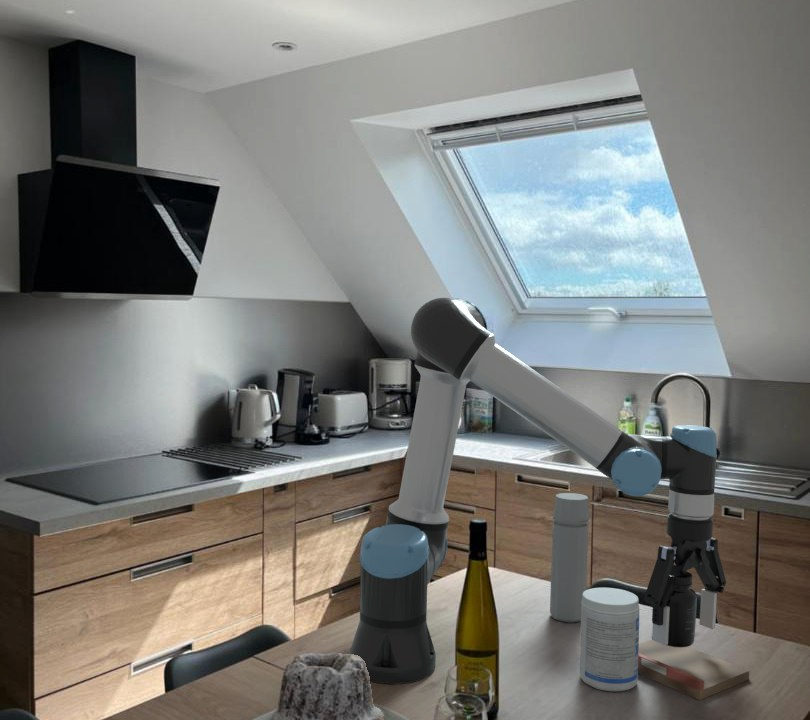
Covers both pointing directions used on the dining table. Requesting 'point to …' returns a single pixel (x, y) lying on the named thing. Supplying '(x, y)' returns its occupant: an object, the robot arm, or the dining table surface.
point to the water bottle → (569, 556)
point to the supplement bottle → (682, 612)
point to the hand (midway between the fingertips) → (684, 634)
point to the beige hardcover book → (688, 669)
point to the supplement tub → (609, 639)
